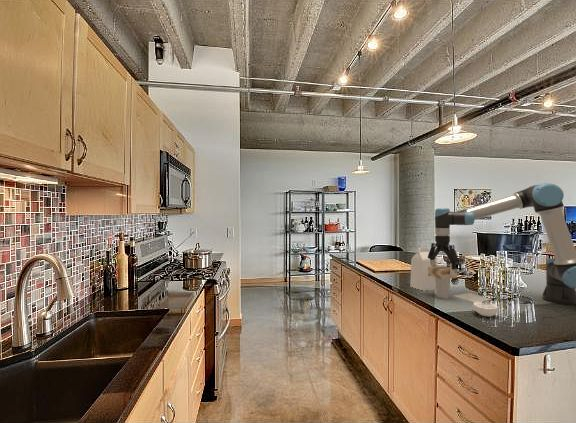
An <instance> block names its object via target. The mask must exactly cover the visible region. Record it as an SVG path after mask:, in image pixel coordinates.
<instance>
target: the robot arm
mask: <svg viewBox="0 0 576 423" xmlns="http://www.w3.org/2000/svg"><path fill="white" fill-rule="evenodd" d="M512 194H513V195H512ZM512 194H511V195H509V196H506V197H501V198H499V199H495V200H492V201H489V202H485V203H482V204H479V205H476V206H472V207H469V208H464V209H463V210H462V209H461V210H458V211H451V210H450V208H447V207H446V208H445V207H444V208H443V207H441V208H436V209H434V228H435V229H434V235H435V236H434V241H435V242H431V244H430V245H431V247H430V248H429V254H428V258H429V259H430V260H431V267H434V266H436V262H437V259H436V257H437V256H438V255H439V253H440V252H442V253H445V255H446V256H447V258H448V260H449V262H450V263H449V267H450V275H455V269H457V266H456V264H458V263H460V260H459V257H458V255H457V252H456V249H455V248H456V247H455V245H454V244H450V242H451V236H450V234H451V232H450V231H451V230H450V228H451V226H473V225H474V224H475V220H479V219H483V218H485V217H491V216H493V215H497V214H499V213H504V212H508V211H511V210H515V209H520V210H521V209H525V208H531V207H533V209H534V212H535V213H536V214H538V215H539V216H540V218H541V221H542V224H543V227H544V230H545V232H546V235H547V237H548V241H549V243H550V246H551V249H552V252H553V254H554V257H555V258H547V259H546V262H545V272H546V273H545V274H546V275H545V278H546V283H545V284H546V285H545V287H544V290H543V292H542V300H544V301H547V302H550V303H553V304H554V303H555V304H559V305H568V306H569V305H570V306H575V305H576V246H575V244H574V242H573V239H572V236H571V233H570V231H569V227H568V225H567V222H566V219H565V216H564V213H563V211H562V210H563V208H564V206H565V205H564V202H563V199H564V196H565V195H564V190H563V189H562V188H561V187H560V186H559V185H557V184H554V183H549V182H548V183H546V182H544V183H543V182H542V183H539V184H536V185H531V186H528V187H526V188H524V189H522V190H519V191H516V192H513V193H512ZM434 259H436V260H434Z"/></svg>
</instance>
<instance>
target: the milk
mask: <svg viewBox="0 0 576 423" xmlns="http://www.w3.org/2000/svg"><path fill="white" fill-rule="evenodd" d="M429 252H430V248H429V247H427V246H426V247H419V248H418V251H417V252H416V253H415V254H414V255H413V256H412V257H411V259H410V260H411V261H410V262H411V264H410V285H409V287H410V288H412V287H413V288H412V289H415V288H416V290H418V289H419V291H421V290H423V291H422V292H426V291H425V290H429V291H435V290H436V281H435V277H432V276H428V267H431V260H430V259H429V258H428V254H429ZM434 260H436V266H438V264H437V259H436V258H435V259H434Z"/></svg>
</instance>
